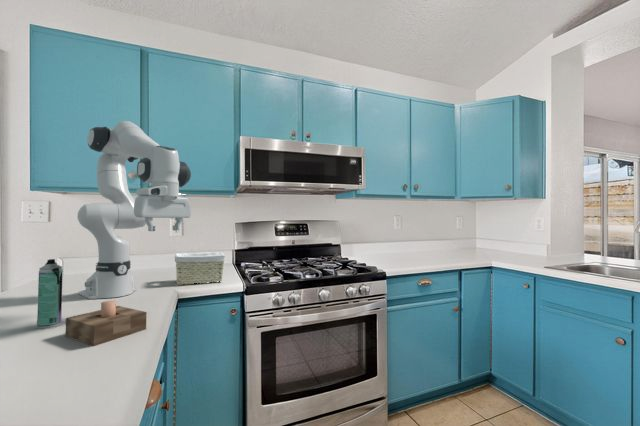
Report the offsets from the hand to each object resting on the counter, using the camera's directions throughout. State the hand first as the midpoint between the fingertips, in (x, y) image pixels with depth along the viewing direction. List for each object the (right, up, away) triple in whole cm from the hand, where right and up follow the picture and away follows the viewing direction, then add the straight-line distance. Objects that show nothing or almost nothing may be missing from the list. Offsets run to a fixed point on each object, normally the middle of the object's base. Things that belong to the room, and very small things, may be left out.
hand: (164, 230), depth 111 cm
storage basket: (-8, -30, +52) cm, 61 cm away
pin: (-5, -26, -21) cm, 34 cm away
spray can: (-26, -28, -16) cm, 42 cm away
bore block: (-5, -28, -22) cm, 36 cm away
